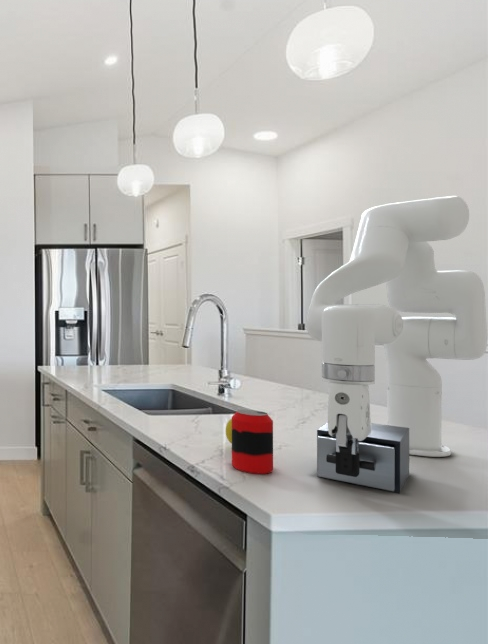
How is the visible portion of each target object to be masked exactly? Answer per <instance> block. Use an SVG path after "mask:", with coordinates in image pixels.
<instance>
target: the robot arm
mask: <svg viewBox="0 0 488 644" xmlns="http://www.w3.org/2000/svg"><path fill="white" fill-rule="evenodd" d="M360 216H361V217H360V221H359V224H358V229H357V232H356V235H355V240H354V244H353V247H352V251H351V254H350V258H349V261H348V262H346V263H345V264H343V265H341V266H340V267H339V268H337V269H335V270H334V271H332V272H331V273H330V274H329V275H327V276H326V277H325V278H324V279H322V280H321V282H320V283H319V284H318V285H317V287H316V288H315V289H314V291H313V294H312V296H311V300H310V304H309V307H308V309H307V312H306V313H307V314H306V320H305V327H306V332H307V334H308V336H309V337H310V338H312V339H313V340H314V341H317V342H321V381H323V382H327V383H328V392H327V422H328V432H329V434H330V435H331V436H332V437H334V436H336V473H337V474H342V475H347V476H352V477H357V476H358V475H359V469H360V453H358V452H359V441H362V440H364V439H365V438H366V437H367V436H368V435H369V434H370V432H371V423H372V422H371V402H370V401H371V399H370V388H369V385H375V380H376V378H375V377H376V376H375V375H376V369H375V368H376V363H375V362H376V356H375V355H376V345H377V346H379V345H383V349H384V354H385V361H386V425H390V426H398V427H406V428H409V455H412V456H418V457H428V458H429V457H431V458H432V457H433V458H441V457H442V458H444V457H449V456H451V455H452V449H451V448H450V447H448V446H445V445H442V420H443V419H442V417H443V416H442V410H443V409H442V408H443V407H442V405H443V403H442V401H443V400H442V399H443V398H442V397H443V395H442V393H443V392H442V388H443V387H442V385H443V384H442V381H443V380H442V377H441V373H440V372H439V371H438V370H437V369H436V368H435V367H434V366H433V365H432V364H431V363H430V362H429V361H428V360H427V359H438V360H439V359H440V360H457V361H458V360H459V361H474V360H477V359H480V358H482V357H483V356H484V355H485V354H486V351H487V347H488V329H487V327H488V326H487V309H486V307H487V306H486V292H485V286H484V282H483V280H482V278H481V276H480V275H479V274H478V273H476V272H474V271H471V270H466V269H465V270H464V269H459V270H457V269H455V270H454V269H453V270H437V269H436V265H435V251H434V249H433V247H432V245H431V244H430V243H429V242H438V241H448V240H451V239H455V238H456V237H459V236H460V235H461V234H463V232H464V231H465V230H466V229H467V227H468V224H469V221H470V209H469V206H468V204H467V202H466V200H465V199H464V198H462V197H461V196H459V195H448V196H442V197H441V196H440V197H432V198H431V197H430V198H424V199H416V200H408V201H400V202H399V201H398V202H394V203H386V204H381V205H376V206H373V207H370V208H368V209H365V210H364V211H363V212H362V214H361V215H360ZM384 283H385V287H386V296H387V302H388V305H385V304H337V303H338V302H340V301H342V299H344V298H347V296H350V295H352V294H355V293H358V292H361V291H364V290H367V289H370V288H373V287H376V286H379V285H381V284H384ZM399 312H400V313H407V314H409V313H410V314H411V313H412V314H451V315H453V317H451V316H450V317H444V316H443V317H441V316H436V317H435V316H402V315H401V314H400V313H399Z"/></svg>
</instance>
